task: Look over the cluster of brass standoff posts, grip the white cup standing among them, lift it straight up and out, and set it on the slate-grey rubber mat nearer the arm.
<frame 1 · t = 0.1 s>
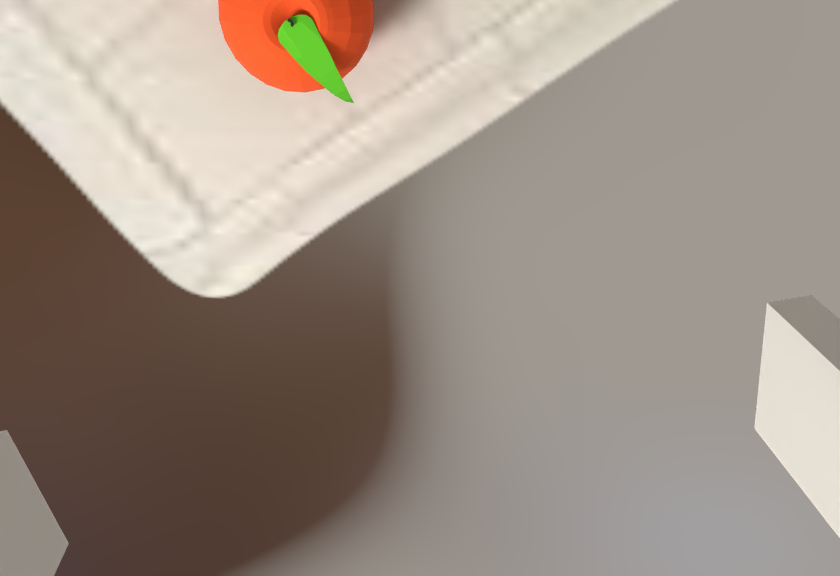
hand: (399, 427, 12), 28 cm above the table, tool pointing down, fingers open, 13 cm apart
clementine: (309, 13, 35), on the table
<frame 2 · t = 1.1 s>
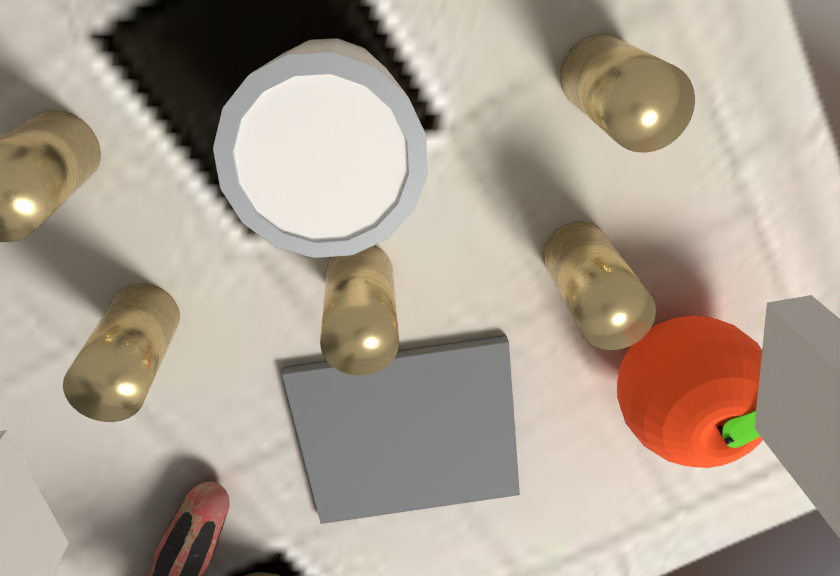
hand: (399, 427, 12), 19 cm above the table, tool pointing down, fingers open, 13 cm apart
spacer field: (330, 110, 29), on the table
white cup: (330, 108, 29), on the table
slate mat: (408, 431, 37), on the table
clementine: (673, 342, 36), on the table
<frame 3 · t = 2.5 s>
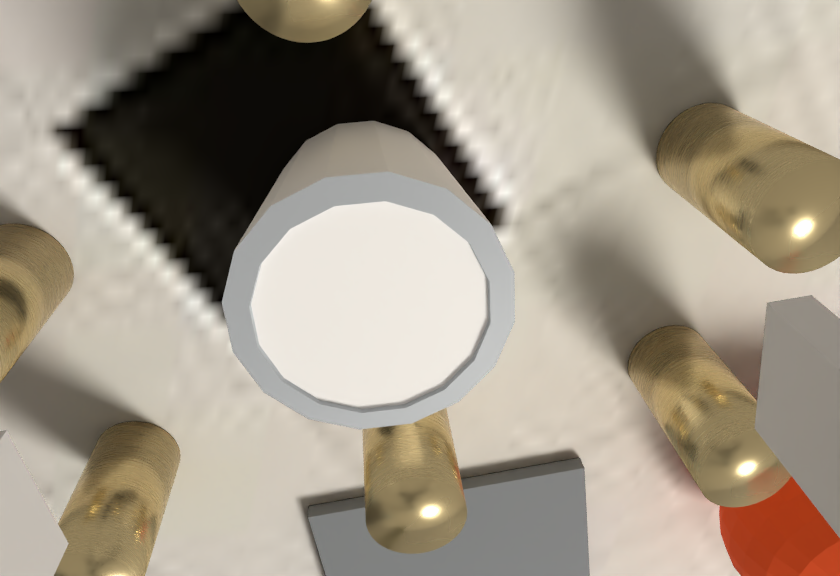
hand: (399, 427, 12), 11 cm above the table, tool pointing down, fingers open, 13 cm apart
spacer field: (365, 208, 23), on the table
white cup: (365, 205, 23), on the table
slate mat: (459, 567, 30), on the table
clementine: (779, 454, 29), on the table
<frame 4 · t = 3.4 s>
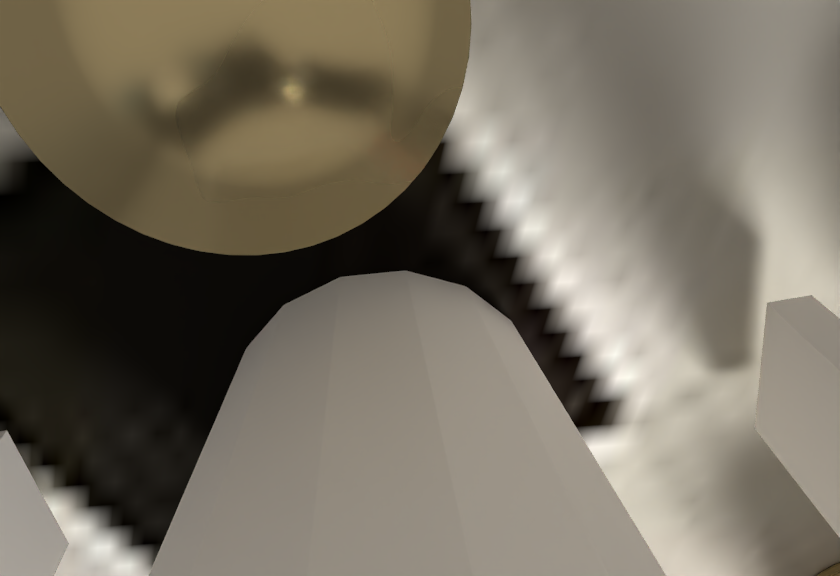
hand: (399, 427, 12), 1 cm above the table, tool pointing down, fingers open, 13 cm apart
spacer field: (387, 406, 13), on the table
white cup: (387, 399, 13), on the table
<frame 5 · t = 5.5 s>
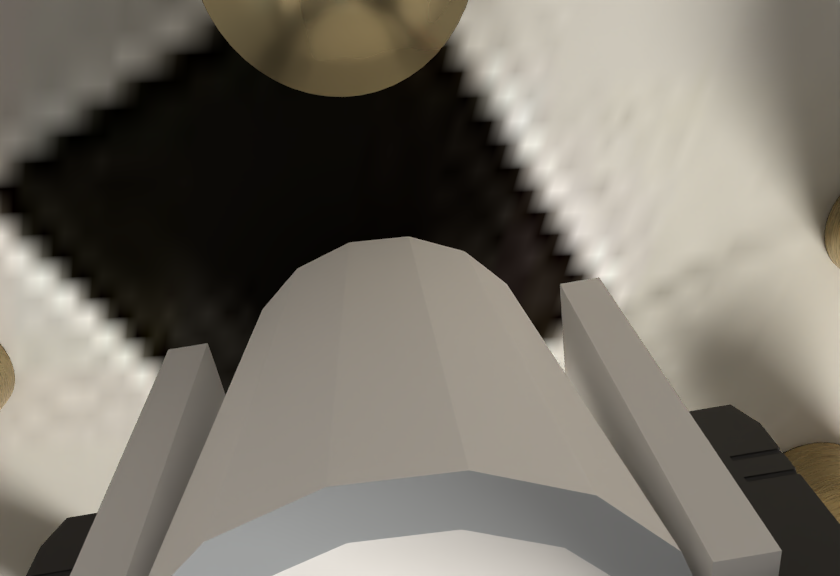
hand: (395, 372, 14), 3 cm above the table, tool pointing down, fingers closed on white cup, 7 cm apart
spacer field: (413, 294, 16), on the table
white cup: (392, 358, 14), point 2 cm above the table, touching gripper
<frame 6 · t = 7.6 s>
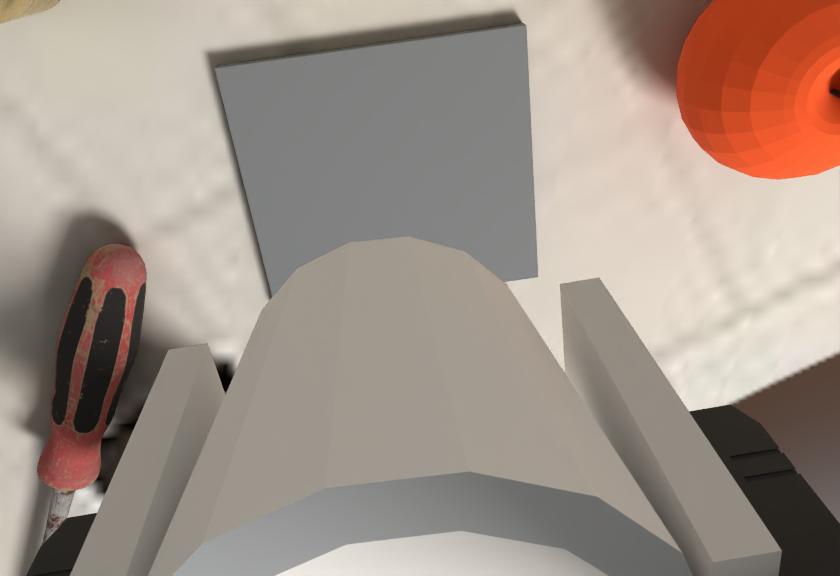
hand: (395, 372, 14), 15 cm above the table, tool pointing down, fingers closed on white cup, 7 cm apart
white cup: (392, 359, 14), point 14 cm above the table, touching gripper
slate mat: (390, 176, 27), on the table
screwdriver: (79, 456, 33), on the table
clementine: (748, 46, 26), on the table
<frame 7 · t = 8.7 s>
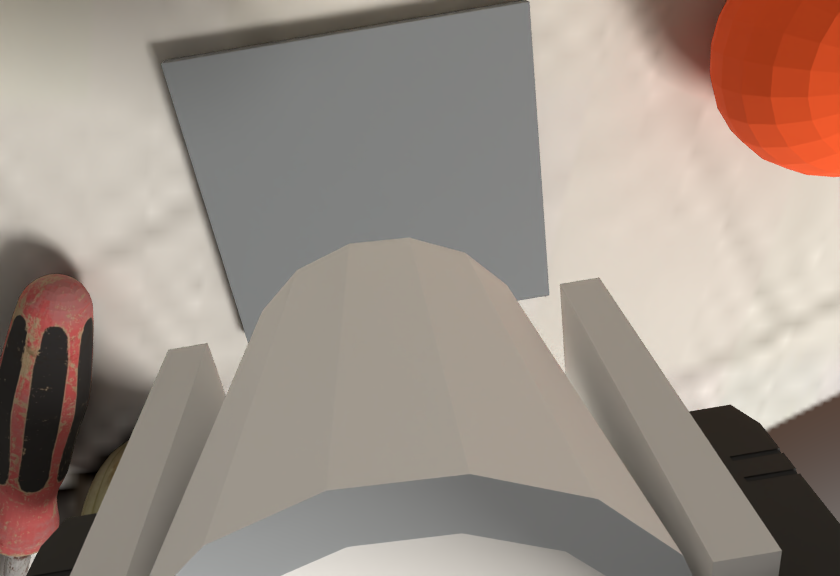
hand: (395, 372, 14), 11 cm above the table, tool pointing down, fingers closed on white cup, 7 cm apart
white cup: (392, 360, 14), point 11 cm above the table, touching gripper
slate mat: (374, 185, 24), on the table
fennel bulb: (174, 455, 28), on the table
screwdriver: (37, 512, 29), on the table
clementine: (790, 21, 22), on the table
when the fingers open (1 cm above the table, at t = 10.7 s): white cup stays where it is, resting on slate mat.
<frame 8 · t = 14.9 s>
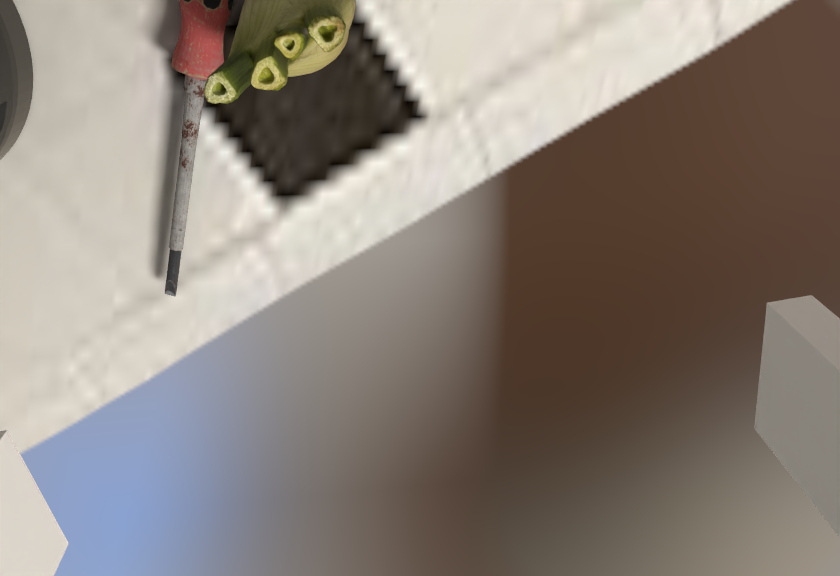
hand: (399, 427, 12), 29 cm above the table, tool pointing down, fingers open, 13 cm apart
fennel bulb: (299, 14, 36), on the table
screwdriver: (202, 79, 37), on the table
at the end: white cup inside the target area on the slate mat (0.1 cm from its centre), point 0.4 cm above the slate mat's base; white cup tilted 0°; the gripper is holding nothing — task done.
